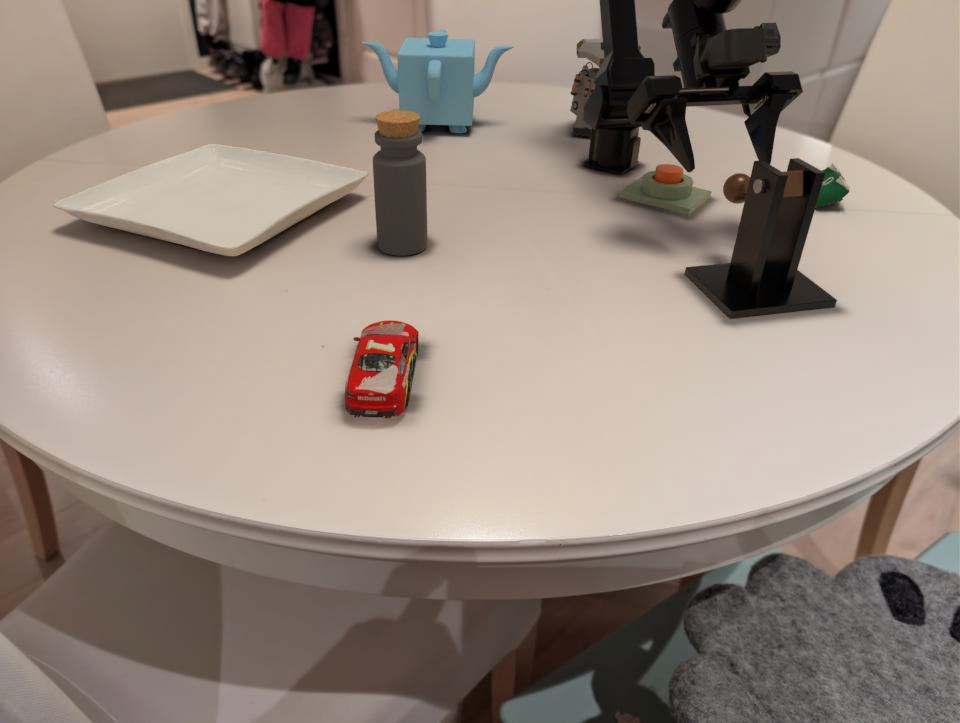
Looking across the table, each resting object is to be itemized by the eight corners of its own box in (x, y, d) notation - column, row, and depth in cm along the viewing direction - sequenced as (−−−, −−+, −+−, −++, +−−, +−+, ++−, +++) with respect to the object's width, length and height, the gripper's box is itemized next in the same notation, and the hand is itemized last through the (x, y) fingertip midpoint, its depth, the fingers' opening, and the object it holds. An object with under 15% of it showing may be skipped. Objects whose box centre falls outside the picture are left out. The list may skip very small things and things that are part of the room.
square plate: (374, 196, 100) (372, 168, 97) (237, 280, 79) (231, 246, 77) (215, 163, 109) (210, 137, 106) (56, 231, 88) (46, 199, 86)
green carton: (813, 224, 100) (856, 197, 97) (798, 203, 99) (841, 175, 96) (802, 199, 107) (842, 174, 104) (788, 179, 106) (828, 153, 103)
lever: (717, 205, 82) (717, 175, 81) (743, 203, 82) (743, 173, 82) (778, 201, 71) (778, 167, 70) (807, 199, 72) (808, 165, 71)
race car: (366, 337, 70) (363, 300, 68) (423, 340, 70) (423, 302, 68) (336, 423, 59) (331, 382, 57) (404, 427, 59) (402, 386, 56)
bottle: (435, 239, 88) (433, 111, 80) (415, 259, 84) (411, 126, 75) (390, 232, 90) (384, 105, 82) (368, 251, 85) (360, 119, 77)
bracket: (683, 276, 82) (707, 153, 74) (779, 267, 84) (812, 147, 77) (729, 321, 74) (761, 189, 66) (834, 310, 76) (877, 180, 69)
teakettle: (434, 147, 118) (433, 48, 109) (362, 121, 128) (356, 29, 120) (515, 125, 129) (520, 34, 121) (442, 103, 140) (442, 18, 132)
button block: (618, 199, 101) (621, 178, 99) (642, 183, 106) (645, 162, 104) (688, 217, 96) (692, 195, 94) (710, 199, 102) (714, 178, 100)
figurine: (631, 143, 122) (645, 46, 113) (563, 135, 124) (571, 39, 116) (638, 128, 129) (651, 35, 121) (573, 121, 132) (582, 30, 123)
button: (649, 181, 99) (651, 169, 98) (660, 174, 102) (662, 162, 101) (675, 187, 98) (677, 174, 97) (685, 180, 100) (687, 167, 99)
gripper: (654, -7, 74) (685, 136, 72) (817, -9, 78) (852, 127, 76) (614, 58, 85) (639, 185, 82) (759, 54, 89) (788, 175, 86)
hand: (729, 168), depth 81 cm, fingers open, 9 cm apart
